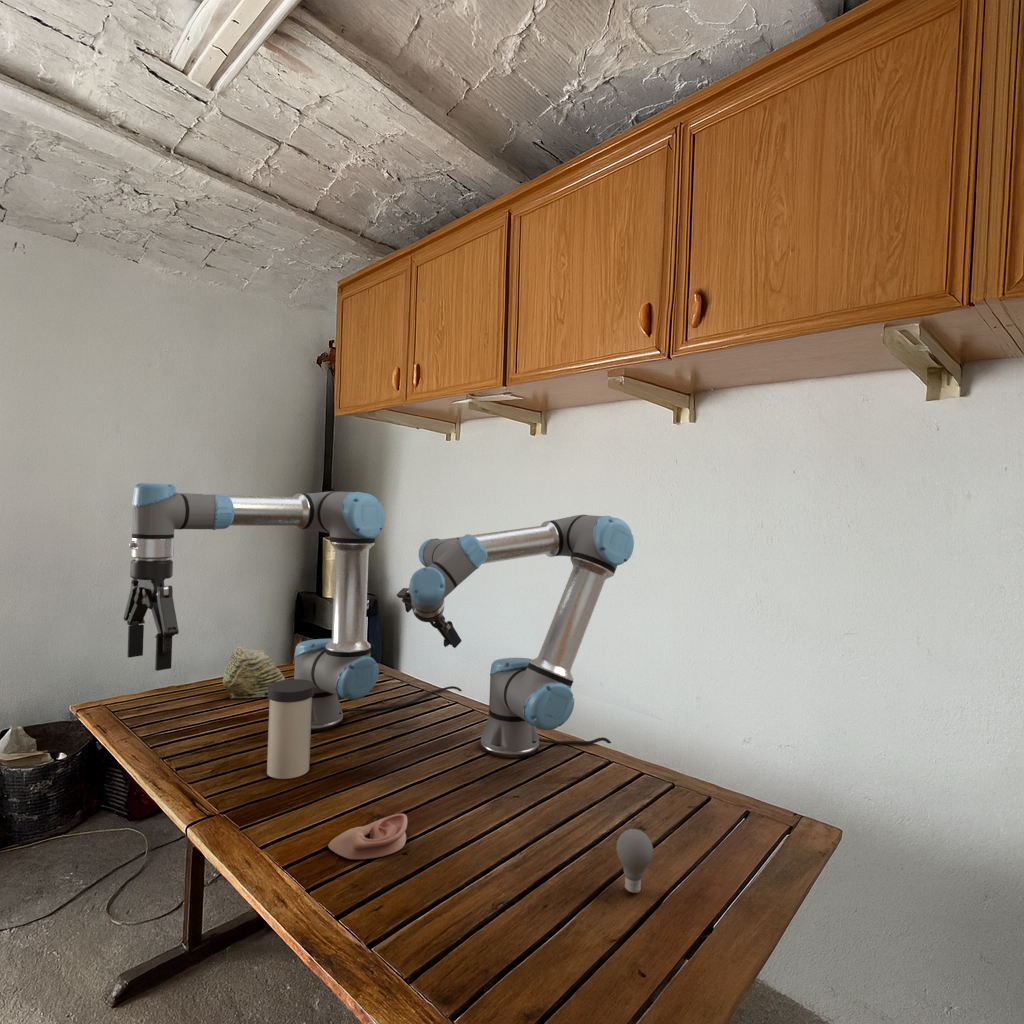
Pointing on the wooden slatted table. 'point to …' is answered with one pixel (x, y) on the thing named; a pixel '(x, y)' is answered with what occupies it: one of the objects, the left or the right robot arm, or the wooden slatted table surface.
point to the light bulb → (634, 857)
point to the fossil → (250, 673)
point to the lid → (290, 690)
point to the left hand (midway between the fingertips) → (148, 662)
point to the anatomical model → (372, 839)
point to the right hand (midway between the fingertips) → (429, 625)
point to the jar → (289, 738)
